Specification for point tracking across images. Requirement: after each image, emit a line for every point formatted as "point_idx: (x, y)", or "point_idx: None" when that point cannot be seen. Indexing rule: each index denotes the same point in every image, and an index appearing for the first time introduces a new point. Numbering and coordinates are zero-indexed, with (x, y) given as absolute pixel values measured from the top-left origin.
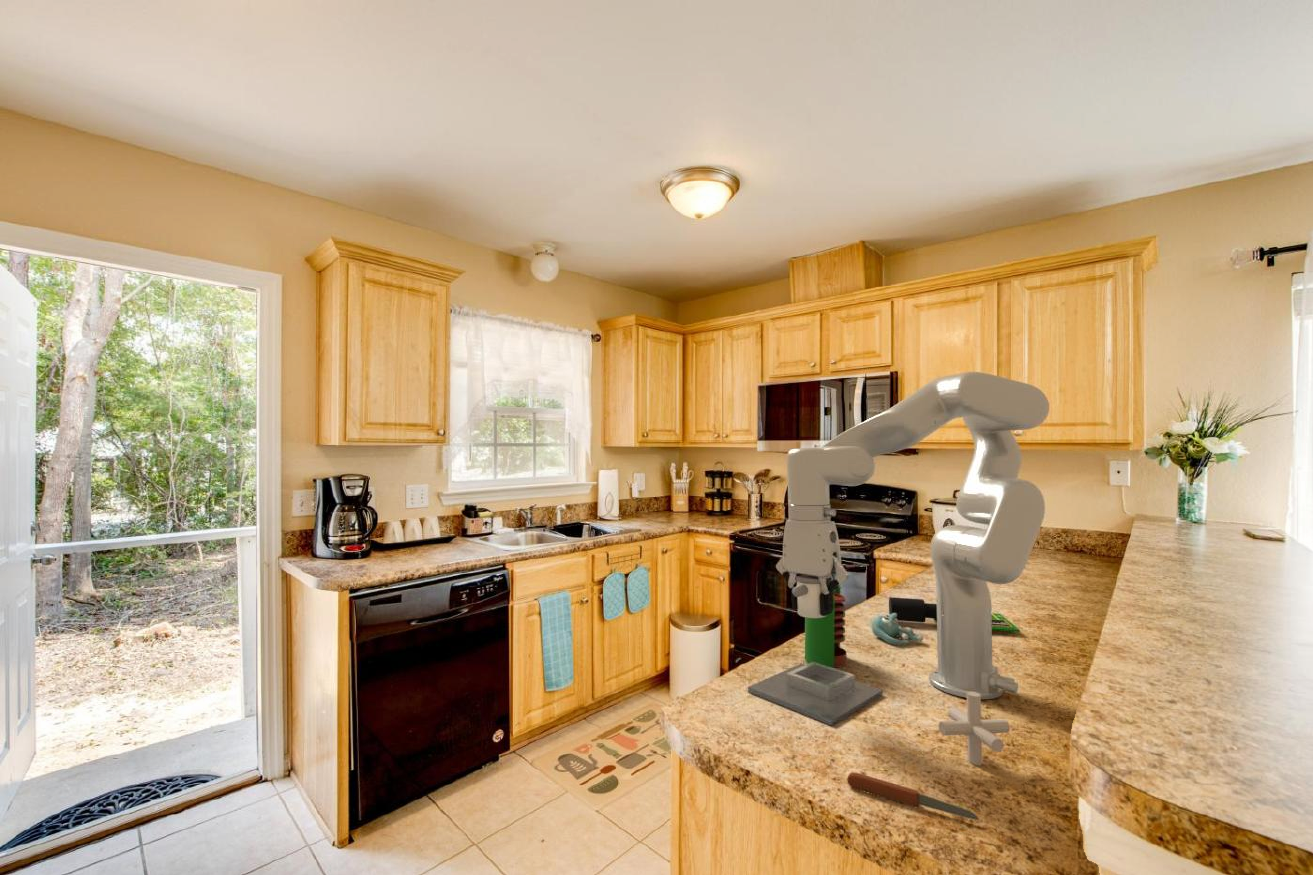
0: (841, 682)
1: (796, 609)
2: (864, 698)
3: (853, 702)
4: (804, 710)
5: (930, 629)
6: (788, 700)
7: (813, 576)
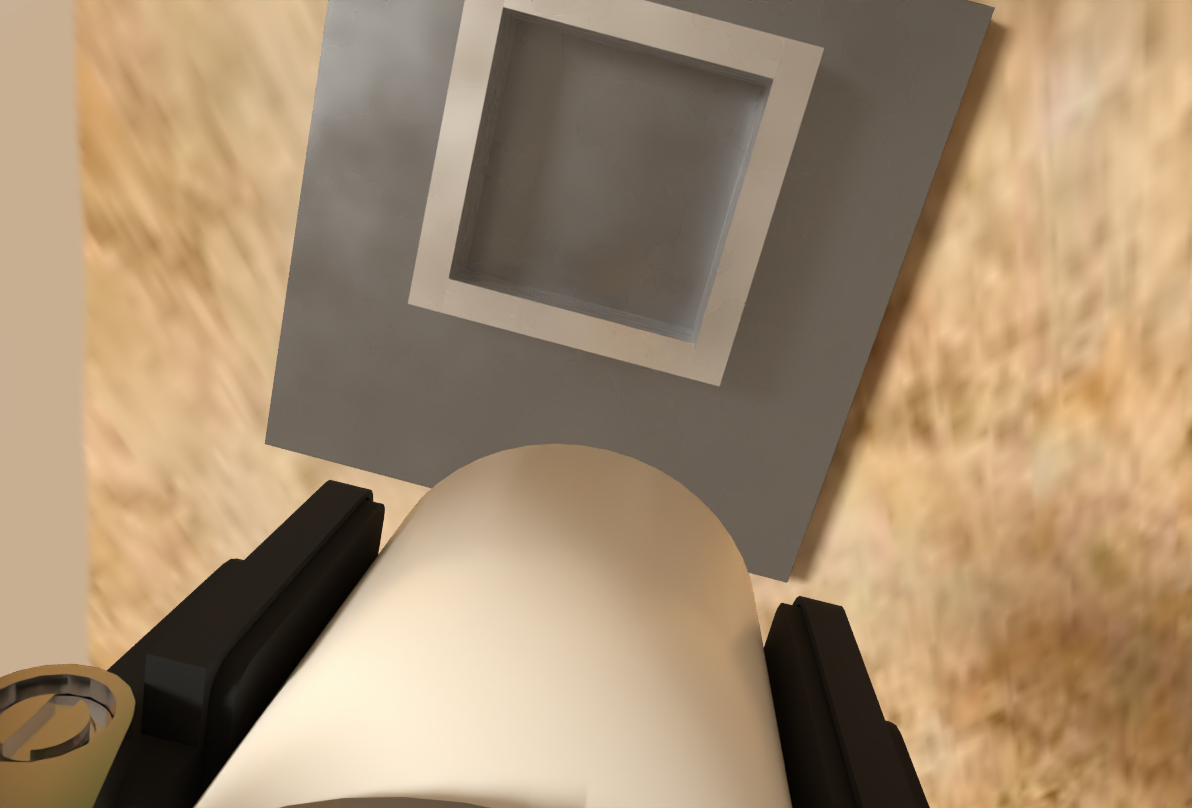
0: (765, 234)
1: None
2: (899, 223)
3: (848, 320)
4: None
5: None
6: None
7: None
